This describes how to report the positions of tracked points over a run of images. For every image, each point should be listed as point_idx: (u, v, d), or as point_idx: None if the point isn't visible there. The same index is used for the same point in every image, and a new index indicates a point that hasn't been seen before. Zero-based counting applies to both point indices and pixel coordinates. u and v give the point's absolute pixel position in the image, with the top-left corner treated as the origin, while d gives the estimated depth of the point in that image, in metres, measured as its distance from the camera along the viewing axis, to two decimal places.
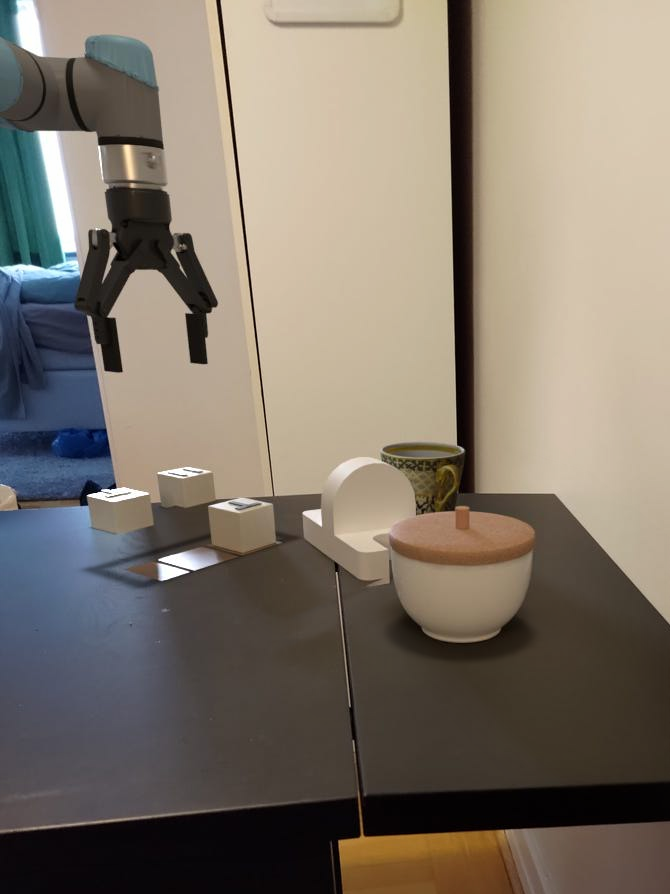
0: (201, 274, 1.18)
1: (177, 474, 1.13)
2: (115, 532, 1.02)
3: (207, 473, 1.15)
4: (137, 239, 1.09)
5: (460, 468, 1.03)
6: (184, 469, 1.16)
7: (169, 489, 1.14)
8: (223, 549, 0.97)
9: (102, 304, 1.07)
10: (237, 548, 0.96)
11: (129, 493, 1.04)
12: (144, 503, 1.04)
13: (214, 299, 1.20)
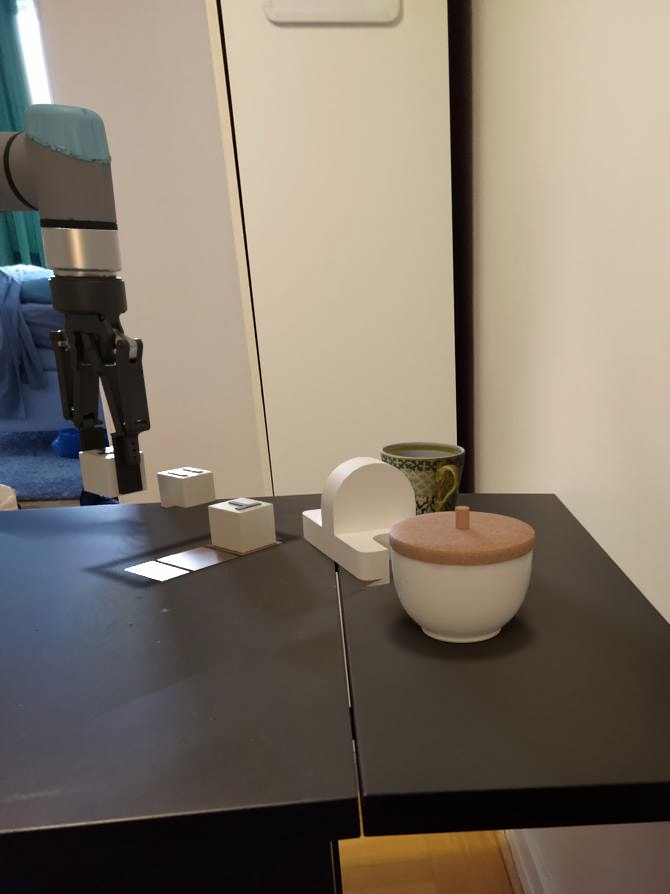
0: None
1: (177, 474, 1.13)
2: (107, 490, 1.00)
3: (207, 473, 1.15)
4: None
5: (460, 468, 1.03)
6: (184, 469, 1.16)
7: (169, 489, 1.14)
8: (223, 549, 0.97)
9: None
10: (237, 548, 0.96)
11: None
12: None
13: None
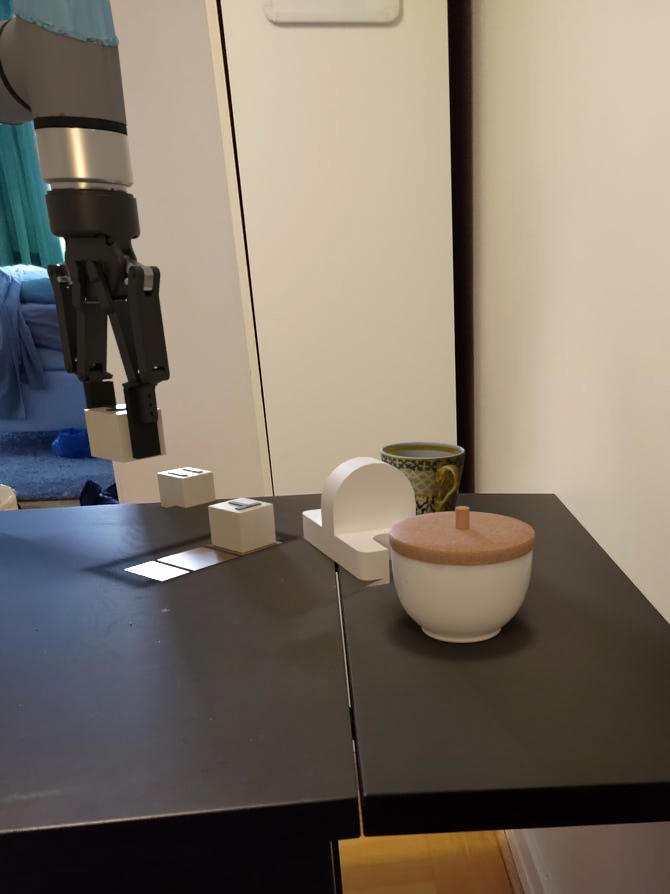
0: None
1: (177, 474, 1.13)
2: (119, 453, 0.84)
3: (207, 473, 1.15)
4: None
5: (460, 468, 1.03)
6: (184, 469, 1.16)
7: (169, 489, 1.14)
8: (223, 549, 0.97)
9: None
10: (237, 548, 0.96)
11: None
12: None
13: None
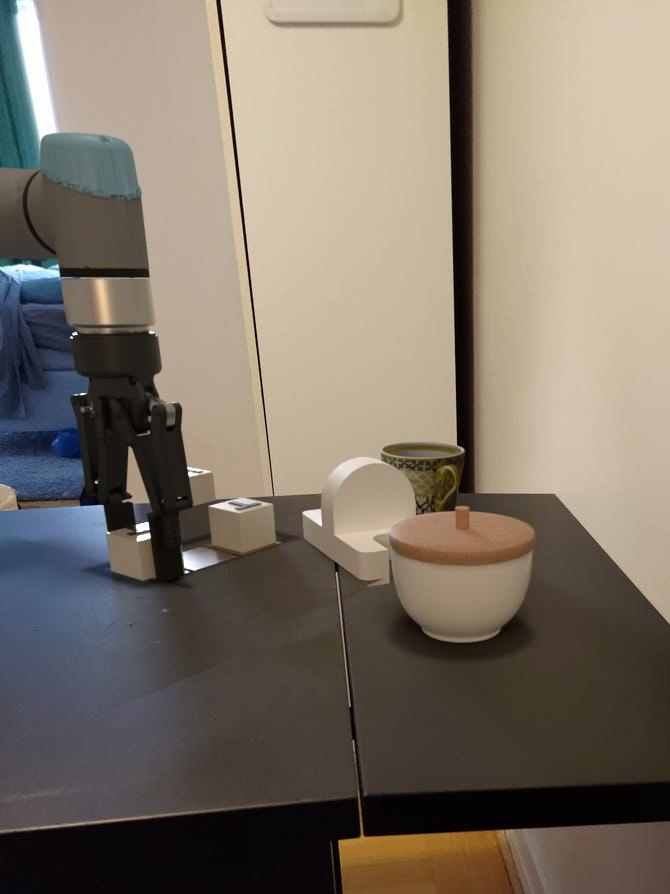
0: None
1: None
2: (139, 577, 0.86)
3: (207, 473, 1.15)
4: None
5: (460, 468, 1.03)
6: None
7: None
8: (223, 549, 0.97)
9: None
10: (237, 548, 0.96)
11: None
12: None
13: None
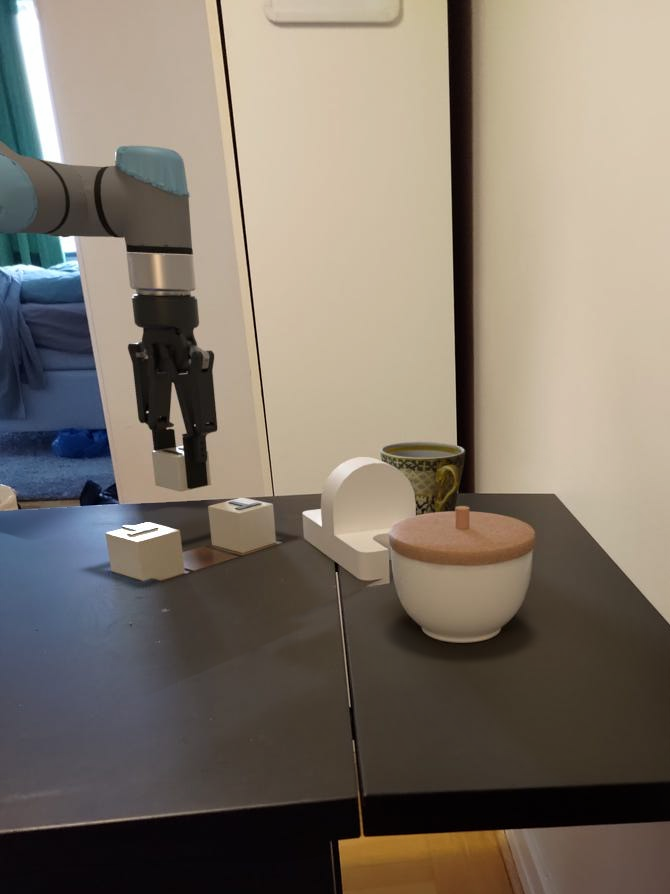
0: None
1: (172, 452, 1.12)
2: (139, 577, 0.86)
3: None
4: None
5: (460, 468, 1.03)
6: (179, 448, 1.15)
7: (164, 468, 1.13)
8: (223, 549, 0.97)
9: None
10: (237, 548, 0.96)
11: (155, 530, 0.88)
12: (173, 542, 0.88)
13: None
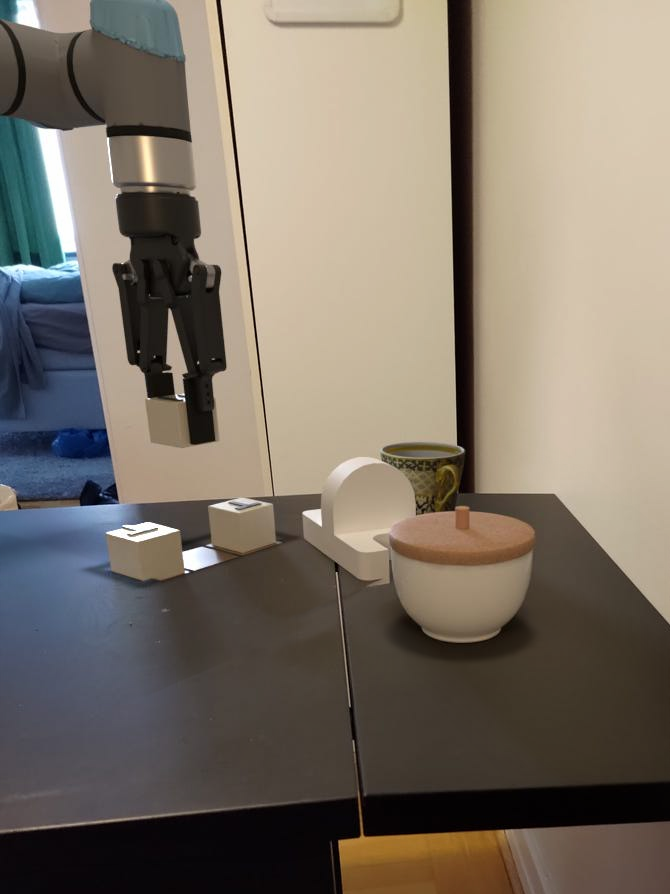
0: None
1: (170, 399, 0.90)
2: (139, 577, 0.86)
3: None
4: None
5: (460, 468, 1.03)
6: (179, 395, 0.92)
7: (161, 419, 0.90)
8: (223, 549, 0.97)
9: None
10: (237, 548, 0.96)
11: (155, 530, 0.88)
12: (173, 542, 0.88)
13: None
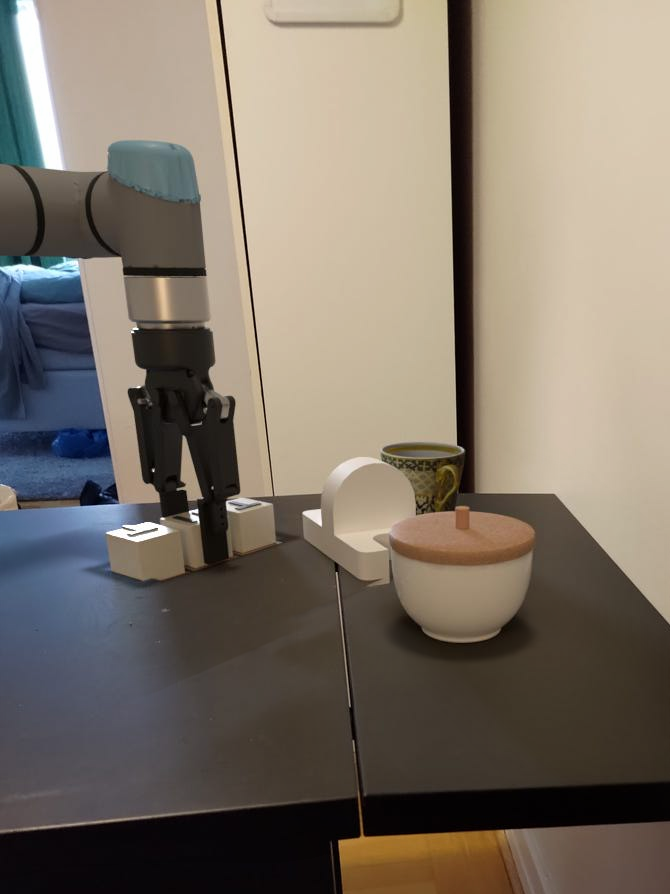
0: None
1: (185, 520, 0.91)
2: (139, 577, 0.86)
3: None
4: None
5: (460, 468, 1.03)
6: (193, 513, 0.94)
7: None
8: None
9: None
10: (237, 548, 0.96)
11: (155, 530, 0.88)
12: (173, 542, 0.88)
13: None
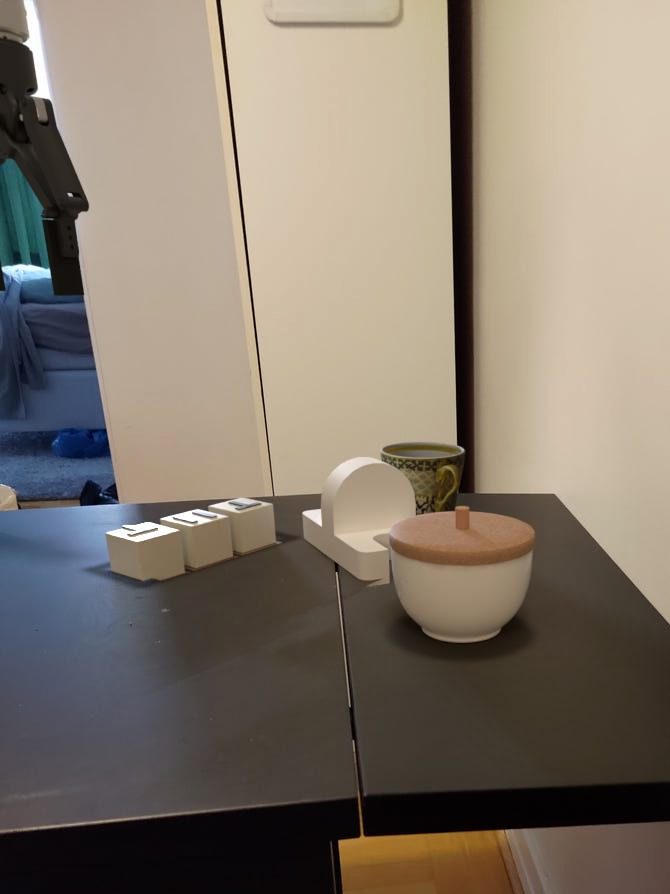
0: None
1: (185, 520, 0.91)
2: (139, 577, 0.86)
3: (222, 518, 0.92)
4: None
5: (460, 468, 1.03)
6: (193, 513, 0.94)
7: None
8: None
9: None
10: (237, 548, 0.96)
11: (155, 530, 0.88)
12: (173, 542, 0.88)
13: None
